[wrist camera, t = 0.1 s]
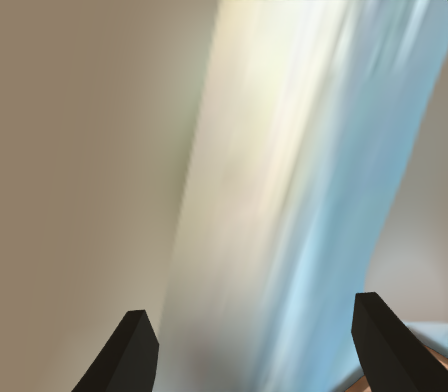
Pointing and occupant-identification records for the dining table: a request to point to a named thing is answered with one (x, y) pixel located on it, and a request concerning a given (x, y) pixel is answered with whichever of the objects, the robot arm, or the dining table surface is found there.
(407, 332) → the robot arm
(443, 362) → the brown wooden tray
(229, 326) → the dining table surface
